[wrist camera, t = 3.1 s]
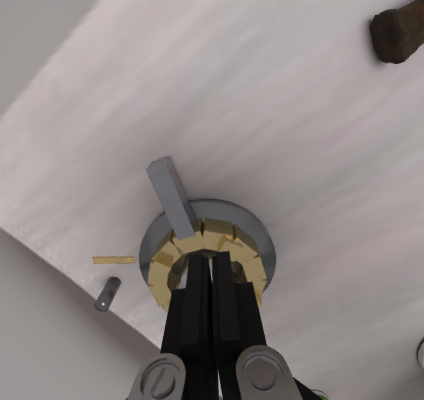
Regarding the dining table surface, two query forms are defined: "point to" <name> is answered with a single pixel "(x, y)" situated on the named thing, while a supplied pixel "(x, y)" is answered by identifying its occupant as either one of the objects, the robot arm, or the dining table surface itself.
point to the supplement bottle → (320, 394)
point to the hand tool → (398, 32)
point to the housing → (180, 267)
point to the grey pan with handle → (195, 238)
